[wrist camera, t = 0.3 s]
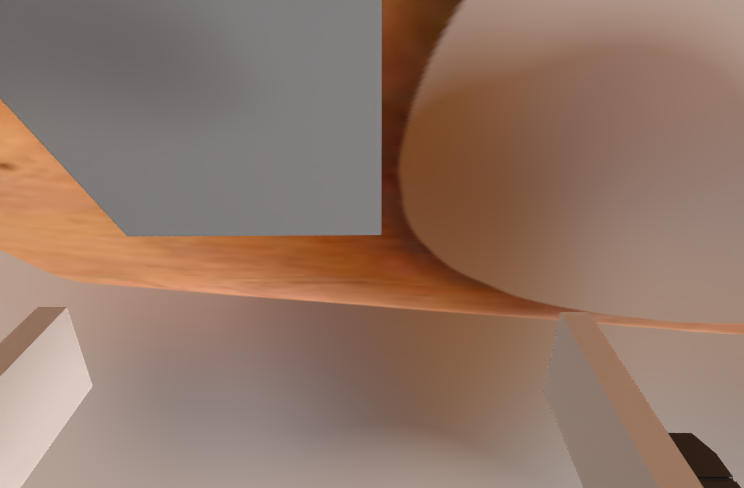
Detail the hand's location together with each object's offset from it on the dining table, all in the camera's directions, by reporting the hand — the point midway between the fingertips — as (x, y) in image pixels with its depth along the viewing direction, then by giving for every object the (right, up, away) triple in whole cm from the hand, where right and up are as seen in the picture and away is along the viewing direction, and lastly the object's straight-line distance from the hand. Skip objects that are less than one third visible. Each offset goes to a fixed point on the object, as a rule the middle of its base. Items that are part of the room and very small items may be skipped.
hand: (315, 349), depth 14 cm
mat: (-8, +10, +14) cm, 19 cm away
